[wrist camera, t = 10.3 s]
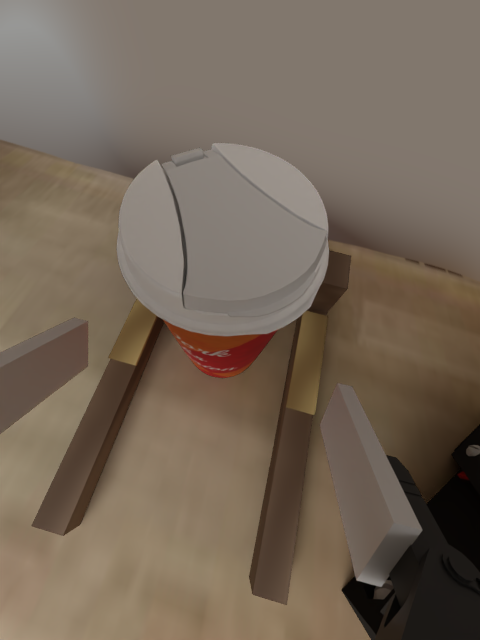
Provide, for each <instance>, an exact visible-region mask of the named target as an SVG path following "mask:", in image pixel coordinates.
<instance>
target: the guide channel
mask: <svg viewBox="0 0 480 640" xmlns="http://www.w3.org/2000/svg"><path fill="white" fill-rule="evenodd" d="M350 262H351V256H350V255H346V254H342V253H338V252H334V251H330V250H329V258H328V267H327V270H326V274H325V277H324V280H323V282H322V284H321V285H320V287H319V289H318V291H317V294H316V296H315V298H314V300H313V302H312V305H311V307H310V308H309V309H308V310H306V311H305V312H304V313H303V314H302V315H301V316H300V317H299V318H297V324H296V329H295V334H294V340H293V345H292V351H291V356H290V361H289V367H288V372H287V377H286V383H285V388H284V393H283V399H282V404H281V409H280V415H279V420H278V425H277V431H276V436H275V442H274V447H273V452H272V458H271V463H270V468H269V474H268V479H267V484H266V490H265V495H264V500H263V506H262V511H261V516H260V522H259V527H258V533H257V538H256V543H255V549H254V554H253V559H252V565H251V570H250V575H249V579H250V584H251V589H252V594H253V595H256V596H259V597H262V598H265V599H269V600H272V601H275V602H278V603H281V604H285V605H287V600H288V593H289V585H290V578H291V571H292V564H293V556H294V549H295V542H296V535H297V527H298V520H299V513H300V505H301V498H302V491H303V484H304V476H305V469H306V462H307V455H308V447H309V440H310V433H311V426H312V418H313V415H315V411H316V404H317V396H318V389H319V381H320V374H321V366H322V359H323V352H324V344H325V337H326V329H327V322H328V316H327V312H328V311H329V310H330V309H331V307H332V306H333V305H334V304H335V303H336V302H337V301H338V299H339V298H340V297H341V296H342V295H343V294H344V292H345V291H346V290H347V289H348V281H349V271H350ZM163 323H164V321H163V319H161V318H160V317H158V316H156V315H155V314H154V313H152V312H151V311H150V310H149V309H148V308H146V307H145V306H144V305H143V304H142V303H141V302H140V301H139V300H138V299H136V301H135V303H134V305H133V307H132V309H131V311H130V313H129V316H128V318H127V320H126V322H125V324H124V326H123V328H122V330H121V332H120V334H119V336H118V339H117V341H116V343H115V345H114V347H113V349H112V351H111V353H110V355H109V357H108V358H110V361H109V363H108V365H107V367H106V370H105V372H104V374H103V376H102V378H101V380H100V382H99V384H98V386H97V389H96V391H95V393H94V395H93V397H92V399H91V401H90V403H89V405H88V407H87V410H86V412H85V414H84V416H83V418H82V420H81V422H80V424H79V426H78V429H77V431H76V433H75V435H74V437H73V439H72V441H71V443H70V445H69V448H68V450H67V452H66V454H65V456H64V458H63V460H62V462H61V464H60V467H59V469H58V471H57V473H56V475H55V477H54V479H53V481H52V483H51V486H50V488H49V490H48V492H47V494H46V496H45V498H44V500H43V502H42V504H41V507H40V509H39V511H38V513H37V515H36V517H35V519H34V521H33V523H32V526H33V527H36V528H39V529H43V530H46V531H49V532H52V533H56V534H59V535H62V536H64V535H65V534H67V533H68V532H70V531H71V530H73V529H74V528H76V527H78V526H79V525H80V523H81V521H82V519H83V516H84V514H85V511H86V509H87V506H88V504H89V502H90V499H91V497H92V494H93V492H94V489H95V487H96V485H97V482H98V480H99V477H100V475H101V473H102V470H103V468H104V465H105V463H106V460H107V458H108V456H109V453H110V451H111V448H112V446H113V444H114V441H115V439H116V436H117V434H118V431H119V429H120V427H121V424H122V422H123V419H124V417H125V415H126V412H127V410H128V407H129V405H130V402H131V400H132V398H133V395H134V393H135V390H136V388H137V385H138V383H139V381H140V378H141V376H142V373H143V371H144V369H145V366H146V364H147V361H148V359H149V356H150V354H151V352H152V349H153V347H154V344H155V342H156V340H157V337H158V335H159V332H160V330H161V327H162V325H163Z"/></svg>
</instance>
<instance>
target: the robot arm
mask: <svg viewBox="0 0 480 640" xmlns="http://www.w3.org/2000/svg"><path fill="white" fill-rule="evenodd" d="M86 367H88V321H85V320H81V319H77V318H72V319H70V320H68V321H66V322H64V323H62V324H59V325H57V326H55V327H53V328H51V329H49V330H47V331H45V332H43V333H40V334H38V335H36V336H34V337H32V338H30V339H28V340H26V341H24V342H21V343H19V344H17V345H15V346H13V347H11V348H9V349H7V350H5V351H2V352H0V434H1V433H2V432H3V431H5V430H6V429H7V428H9V427H10V426H11V425H12V424H14V423H15V422H16V421H18V420H19V419H20V418H21V417H23V416H24V415H25V414H27V413H28V412H29V411H31V410H32V409H33V408H34V407H36V406H37V405H38V404H40V403H41V402H42V401H44V400H45V399H46V398H47V397H49V396H50V395H51V394H53V393H54V392H55V391H56V390H58V389H59V388H60V387H62V386H63V385H64V384H66V383H67V382H68V381H69V380H71V379H72V378H73V377H75V376H76V375H77V374H78V373H80V372H81V371H82V370H84V369H85V368H86ZM320 428H321V432H322V437H323V441H324V445H325V449H326V454H327V458H328V462H329V466H330V471H331V475H332V479H333V483H334V488H335V492H336V496H337V500H338V505H339V509H340V513H341V517H342V522H343V526H344V530H345V534H346V539H347V543H348V547H349V551H350V556H351V560H352V564H353V569H354V573H355V577H356V580H357V581H361V582H364V583H368V584H372V585H375V586H379V587H382V585H383V584H384V583H385V581H386V580H387V578H388V577H389V576H390V578H391V581H392V584H393V587H394V590H395V593H394V594H393V596H392V597H391V598H390V599H389V601H388V602H387V603H386V605H385V606H384V607H383V609H382V610H381V611H380V612H381V613H382V614H383V615H384V617H383V619H382V622H381V624H380V627H379V630H378V632H377V635H376V637H375V640H480V572H479V571H478V569H477V568H476V567H475V566H474V564H473V563H472V562H471V561H470V560H469V559H468V558H467V557H466V556H464V555H463V554H462V553H461V552H460V551H458V550H457V549H455V548H454V547H452V546H451V545H449V544H448V543H447V541H446V539H445V537H444V535H443V534H442V532H441V530H440V528H439V526H438V525H437V523H436V521H435V519H434V517H433V515H432V514H431V512H430V510H429V508H428V506H427V505H426V503H425V501H424V499H423V498H422V497H421V496H422V495H421V494H420V492H419V490H418V488H417V487H415V483H414V481H413V479H412V477H411V475H410V474H409V472H408V470H407V469H406V468H405V467H404V466H403V465H402V463H401V462H400V461H399V460H398V459H397V458H396V457H392V456H388V455H386V454H385V452H384V450H383V448H382V446H381V444H380V442H379V440H378V438H377V436H376V434H375V432H374V430H373V428H372V426H371V424H370V422H369V420H368V418H367V416H366V414H365V412H364V410H363V408H362V405H361V403H360V401H359V399H358V397H357V395H356V393H355V391H354V389H353V387H352V386H348V385H344V384H340V383H337V384H336V387H335V389H334V392H333V394H332V397H331V399H330V401H329V404H328V406H327V409H326V411H325V414H324V416H323V418H322V421H321V423H320Z"/></svg>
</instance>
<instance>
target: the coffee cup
mask: <svg viewBox="0 0 480 640" xmlns="http://www.w3.org/2000/svg"><path fill="white" fill-rule="evenodd" d="M171 159H172V161H170V162H166V163H163V164H161V165H162V167H163V169H162V168H161V166H160V164H159V162H158V160H155V161H154V162H152V163H151V164H149V165H148V166H147V167H146V168H144V169H143V170H142V171H141V172H140V173H139V174H138V175H137V176H136V178H135V179H134V180H133V181H132V183H131V184H130V186H129V187H128V189H127V191H126V193H125V195H124V198H123V201H122V204H121V208H120V212H119V224H118V226H119V232H118V238H117V256H118V263H119V266H120V269H121V272H122V275H123V278H124V279H125V281H126V283H127V285H128V286H129V288H130V290H131V292H132V293H133V294H134V295H135V296H136V297H137V299H138V300H139V301H140V302H141V303H142V304H143V305H144V306H145V307H146V308H148V309H149V310H150V311H151V312H152V313H154V314H155V315H156V316H158V317H160V318H161V319H163V321H164V322H165V324H166V325H167V327H168V328H169V330H170V331H171V333H172V334H173V335H174V337H175V338H176V340H177V341H178V343H179V344H180V346H181V347H182V348H183V350H184V351H185V353H186V354H187V355H188V357H189V358H190V360H191V361H192V362H193V363H194V365H195V366H196V367H197V368H198V369H200V370H201V371H202V372H204V373H206V374H207V375H210V376H213V377H218V378H227V377H232V376H235V375H238V374H240V373H241V372H243V371H244V370H246V369H247V368H248V367H249V366H250V365H251V364H252V363H253V361H254V360H255V359H256V358H257V356H258V355H259V354H260V353H261V351H262V350H263V349H264V347H265V346H266V345H267V343H268V342H269V341H270V339H271V338H272V337H273V335H274V334H275V333H276V331H277V330H278V329H280V328H283V327H285V326H286V325H288V324H289V323H291V322H293V321H294V320H296V319H297V318H299V317H300V316H301V315H302V314H303V313H304V312H305V311H306V310H308V309H309V308H310V307H311V305H312V302H313V300H314V298H315V296H316V294H317V291H318V289H319V287H320V285H321V284H322V282H323V280H324V277H325V274H326V270H327V267H328V258H329V247H328V230H329V229H328V219H327V214H326V210H325V207H324V204H323V201H322V199H321V197H320V195H319V193H318V191H317V190H316V189H315V187H314V186H313V184H312V183H311V182H310V180H309V179H307V177H306V176H304V174H303V173H302V172H301V171H299V170H298V169H297V168H295V167H294V166H292V165H291V164H290V163H288V162H287V161H285V160H283V159H281V158H280V157H278V156H276V155H273V154H271V153H269V152H266V151H264V150H260V149H257V148H254V147H250V146H245V145H240V144H229V143H213V145H212V148H211V150H207V151H203V150H202V149H201V148H196V149H193V150H189V151H186V152H182V153H179V154H175V155H172V156H171Z"/></svg>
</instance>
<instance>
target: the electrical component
mask: <svg viewBox="0 0 480 640" xmlns="http://www.w3.org/2000/svg"><path fill="white" fill-rule="evenodd" d="M452 456H453V457H454V459H455V460H456V461H457V463H458V464H459V466H460V467H461V470H460V471H459V472H458V473H457V474H456V475H455V476H454V477H453V478H452V479H451V480H450V481H449V482H448V483H447V484H446V485H445V486H444V487H443V488H442V489H441V490H440V491H439V492H438V493H437V494H436V495H435V496H434V497H433V498H432V499H431V500H430V501H429V502H428V503H427V504H426V505H427V506H428V508H429V510H430V512H431V514H432V515H433V517H434V519H435V521H436V523H437V525H438V526H439V528H440V530H441V532H442V534H443V535H444V537H445V539H446V541H447V543H448V544H449V545H451V546H452V547H454V548H455V549H457V550H458V551H460V552H461V553H462V554H463V555H464V556H466V557H467V558H468V559H469V560H470V561H471V562H472V563H473V564H474V566H475V567H476V568H477V569H478V571H479V572H480V425H479V426H478V427H477V428H476V429H475V430H474V431H473V432H472V433H471V434H470V435H469V436H468V437H467V438H466V439H465V440H464V441H463V442H462V443H461V444H460V445H459V446H458V447H457V448H456V449H455V450H454V452H453V453H452ZM342 592H343V593H344V595H345V597H346V598H347V600H348V602H349V603H350V605H351V607H352V608H353V610H354V612H355V613H356V615H357V617H358V618H359V620H360V622H361V623H362V625H363V627H364V628H365V630H366V632H367V633H368V635H369V637H370V638H371V640H375V637H376V635H377V632H378V630H379V627H380V624H381V622H382V619H383V617H384V615H383V614H382V613H381V612H380V611H381V610H382V609H383V607H384V606H385V605H386V603H387V602H388V601H389V599H390V598H391V597H392V596H393V594H394V593H395V590H394V587H393V584H392V581H391V578H390V576H389V577H388V578H387V580H386V581H385V583H384V584H383V585H382V587H379V586H375V585H372V584H368V583H364V582H361V581H357V580H356V577H354V578H353V579H352V580H351V581H350V582H349V583H348V584H347V585H346V586H345V587H344V588H343V589H342Z"/></svg>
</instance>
